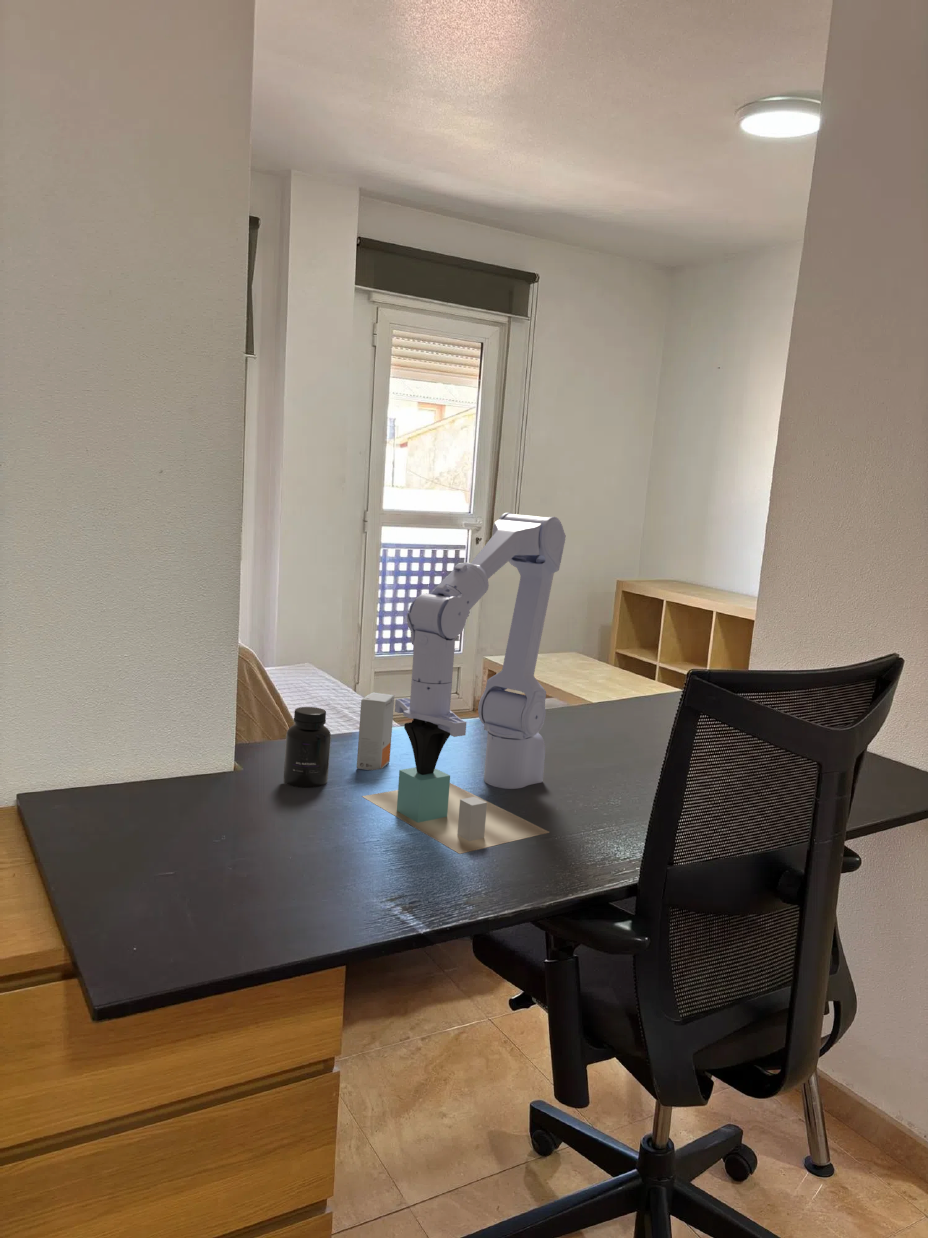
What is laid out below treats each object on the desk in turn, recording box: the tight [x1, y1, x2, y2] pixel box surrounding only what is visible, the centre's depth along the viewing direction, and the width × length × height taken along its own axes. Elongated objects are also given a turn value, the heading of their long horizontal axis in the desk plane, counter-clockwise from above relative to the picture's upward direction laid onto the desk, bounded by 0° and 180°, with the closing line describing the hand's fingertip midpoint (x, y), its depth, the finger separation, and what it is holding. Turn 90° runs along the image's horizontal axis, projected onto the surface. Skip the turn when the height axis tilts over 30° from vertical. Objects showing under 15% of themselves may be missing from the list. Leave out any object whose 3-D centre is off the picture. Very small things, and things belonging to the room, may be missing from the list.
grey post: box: [457, 797, 487, 841], centre depth 123 cm, size 3×3×5 cm
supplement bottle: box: [283, 706, 332, 789], centre depth 140 cm, size 7×7×12 cm
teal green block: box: [397, 766, 451, 823], centre depth 130 cm, size 5×5×6 cm
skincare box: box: [356, 691, 395, 771], centre depth 153 cm, size 6×4×12 cm
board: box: [361, 782, 550, 855], centre depth 132 cm, size 16×24×1 cm, turn 38°
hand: (425, 772), depth 130 cm, fingers closed
